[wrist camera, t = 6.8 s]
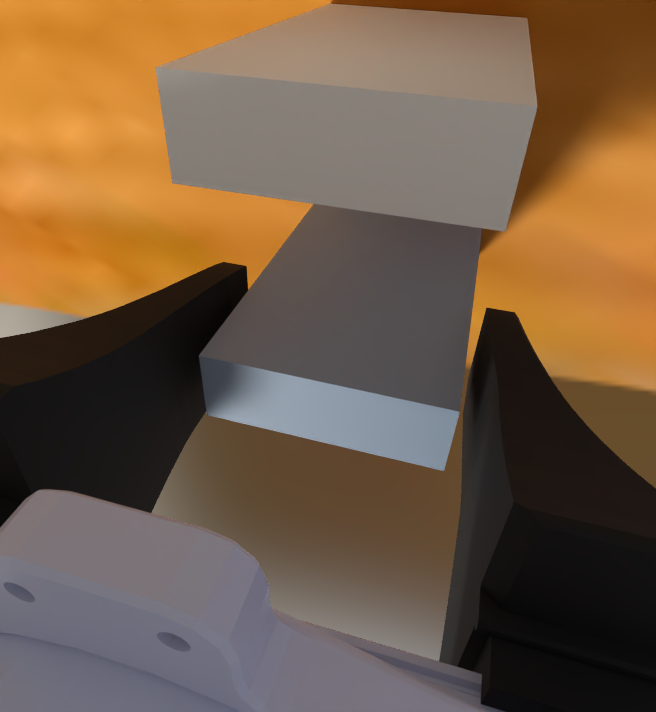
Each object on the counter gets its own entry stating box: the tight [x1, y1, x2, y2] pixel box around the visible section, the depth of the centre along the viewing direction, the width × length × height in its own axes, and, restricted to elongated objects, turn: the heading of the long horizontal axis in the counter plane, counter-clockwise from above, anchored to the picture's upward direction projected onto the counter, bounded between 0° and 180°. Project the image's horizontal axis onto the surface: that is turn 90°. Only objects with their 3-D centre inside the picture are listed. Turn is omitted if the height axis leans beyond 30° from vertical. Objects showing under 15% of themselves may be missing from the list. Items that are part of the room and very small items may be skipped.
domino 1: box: [156, 4, 538, 232], centre depth 11 cm, size 2×5×9 cm, turn 87°
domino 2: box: [199, 204, 482, 471], centre depth 14 cm, size 2×5×9 cm, turn 88°
